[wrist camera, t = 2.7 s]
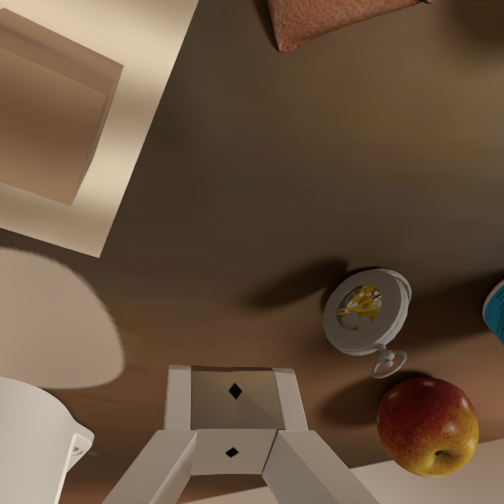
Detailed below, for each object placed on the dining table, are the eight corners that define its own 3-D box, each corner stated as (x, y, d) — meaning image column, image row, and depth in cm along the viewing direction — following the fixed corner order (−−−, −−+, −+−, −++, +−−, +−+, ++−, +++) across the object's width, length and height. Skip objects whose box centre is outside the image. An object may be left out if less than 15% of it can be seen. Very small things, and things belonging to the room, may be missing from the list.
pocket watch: (387, 326, 38) (440, 427, 30) (300, 318, 36) (333, 424, 28) (428, 254, 33) (505, 350, 25) (332, 241, 31) (382, 340, 23)
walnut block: (93, 158, 21) (70, 206, 17) (-15, 117, 19) (-68, 158, 15) (124, 65, 19) (106, 95, 15) (4, 7, 17) (-53, 23, 13)
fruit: (425, 349, 40) (470, 424, 34) (468, 383, 45) (515, 454, 38) (349, 399, 44) (377, 476, 37) (396, 426, 48) (428, 499, 42)
